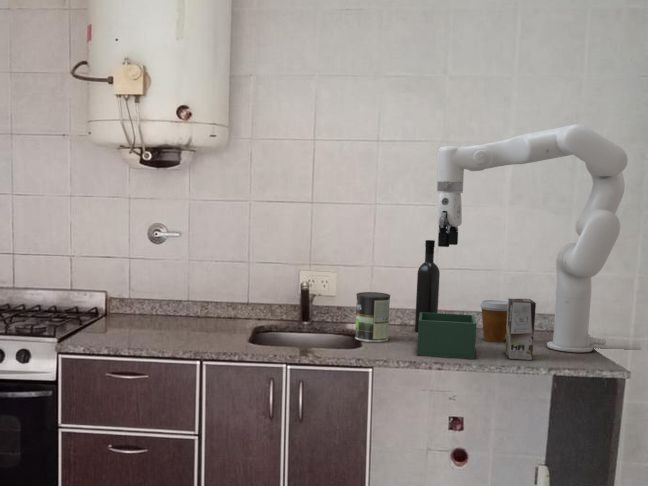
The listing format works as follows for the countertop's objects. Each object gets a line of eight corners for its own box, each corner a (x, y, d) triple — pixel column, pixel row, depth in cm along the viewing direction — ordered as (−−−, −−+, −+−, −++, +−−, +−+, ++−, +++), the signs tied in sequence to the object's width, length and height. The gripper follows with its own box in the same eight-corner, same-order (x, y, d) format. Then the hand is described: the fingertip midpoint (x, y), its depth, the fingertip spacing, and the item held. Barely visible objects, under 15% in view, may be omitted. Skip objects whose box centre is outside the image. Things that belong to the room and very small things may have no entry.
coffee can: (355, 341, 248) (357, 296, 246) (354, 335, 258) (355, 291, 257) (390, 343, 247) (392, 297, 245) (387, 336, 257) (388, 292, 256)
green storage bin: (472, 348, 241) (474, 315, 240) (474, 359, 226) (476, 323, 225) (418, 344, 245) (419, 312, 244) (417, 355, 230) (418, 320, 229)
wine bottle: (413, 331, 268) (417, 240, 265) (423, 329, 272) (427, 239, 268) (428, 333, 264) (432, 241, 260) (438, 331, 268) (442, 240, 264)
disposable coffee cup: (476, 341, 253) (478, 302, 251) (480, 336, 262) (482, 299, 260) (508, 344, 249) (510, 305, 247) (512, 338, 257) (514, 301, 256)
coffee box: (532, 360, 226) (536, 302, 224) (508, 359, 227) (512, 301, 225) (527, 353, 235) (531, 298, 233) (504, 352, 236) (507, 297, 234)
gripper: (455, 188, 233) (453, 248, 235) (469, 188, 248) (467, 244, 250) (429, 188, 236) (427, 247, 238) (444, 188, 251) (443, 243, 253)
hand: (447, 245), depth 244 cm, fingers open, 9 cm apart
